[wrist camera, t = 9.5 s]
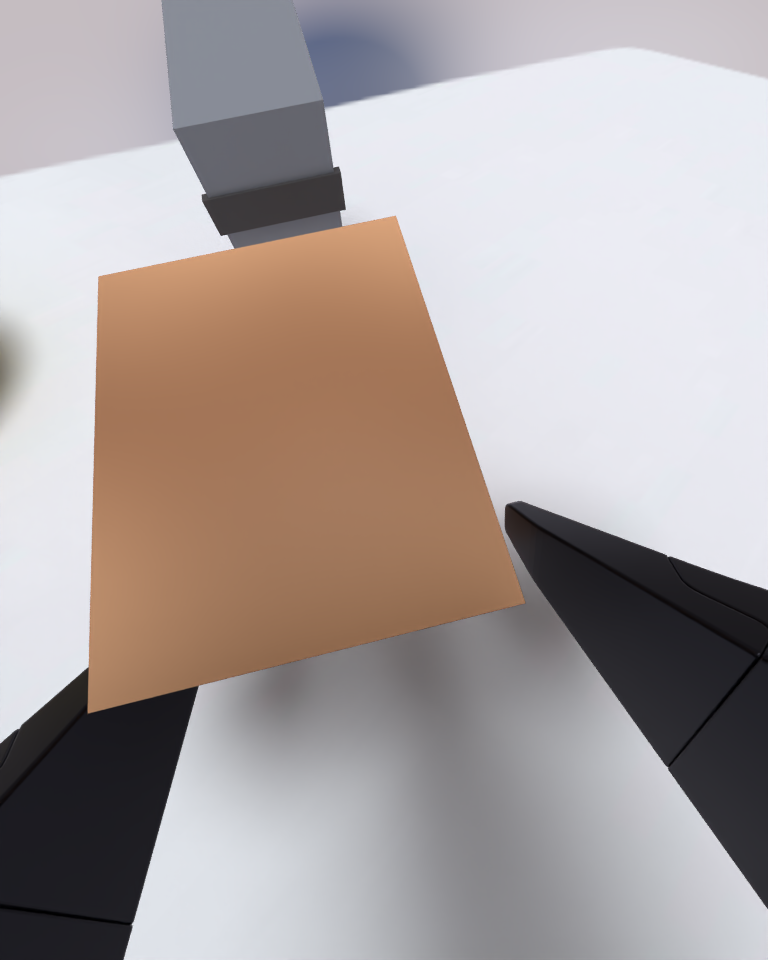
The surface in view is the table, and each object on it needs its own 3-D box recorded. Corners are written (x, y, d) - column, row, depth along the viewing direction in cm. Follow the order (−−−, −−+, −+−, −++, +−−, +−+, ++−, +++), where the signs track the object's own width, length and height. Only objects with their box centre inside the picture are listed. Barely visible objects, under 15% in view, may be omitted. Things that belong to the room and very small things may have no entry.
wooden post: (415, 563, 15) (526, 603, 3) (341, 581, 15) (88, 714, 3) (392, 474, 16) (395, 216, 4) (324, 490, 16) (98, 276, 4)
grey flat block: (366, 364, 18) (331, 100, 8) (298, 380, 18) (166, 133, 8) (335, 247, 21) (275, -75, 10) (275, 259, 21) (150, -53, 10)
